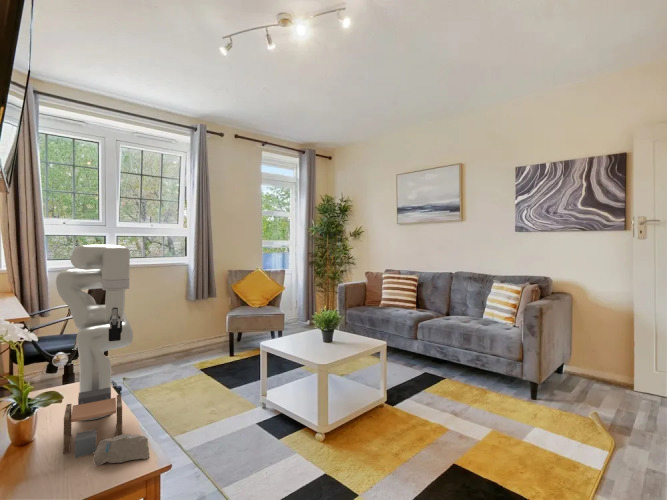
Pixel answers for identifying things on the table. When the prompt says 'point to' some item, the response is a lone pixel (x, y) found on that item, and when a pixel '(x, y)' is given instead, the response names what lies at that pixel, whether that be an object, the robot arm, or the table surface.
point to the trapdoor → (93, 404)
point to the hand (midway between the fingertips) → (115, 336)
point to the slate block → (85, 443)
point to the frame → (68, 424)
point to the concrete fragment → (121, 449)
